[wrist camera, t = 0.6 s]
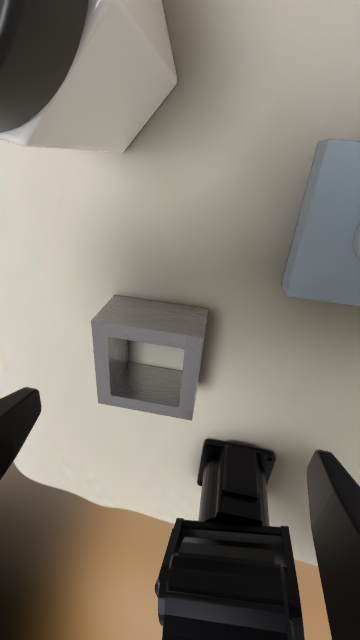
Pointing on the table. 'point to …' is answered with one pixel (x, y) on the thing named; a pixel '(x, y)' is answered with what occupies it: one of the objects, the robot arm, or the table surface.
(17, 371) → the table surface
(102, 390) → the collar
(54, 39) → the jar
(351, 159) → the shaft block
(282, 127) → the table surface
